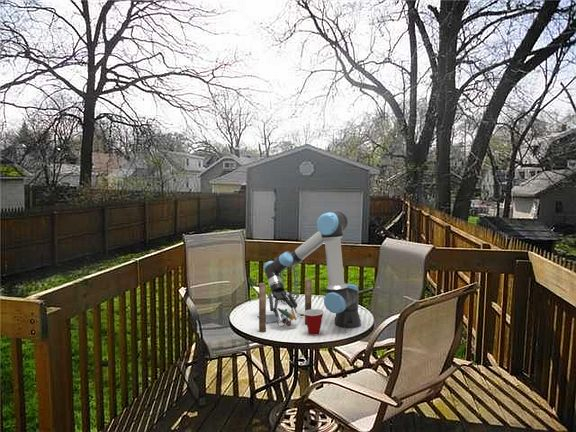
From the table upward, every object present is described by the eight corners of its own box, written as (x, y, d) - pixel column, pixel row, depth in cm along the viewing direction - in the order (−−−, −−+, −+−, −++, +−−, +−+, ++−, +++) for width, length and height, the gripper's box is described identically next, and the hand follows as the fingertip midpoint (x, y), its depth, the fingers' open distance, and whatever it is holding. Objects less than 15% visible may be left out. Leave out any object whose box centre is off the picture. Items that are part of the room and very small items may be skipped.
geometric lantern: (279, 306, 291) (278, 253, 289) (274, 300, 306) (273, 250, 304) (302, 304, 294) (302, 252, 293) (296, 299, 310) (295, 249, 308)
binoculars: (288, 331, 243) (297, 315, 245) (276, 324, 239) (285, 308, 241) (281, 326, 251) (289, 310, 253) (268, 320, 247) (277, 304, 249)
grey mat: (288, 320, 260) (288, 319, 260) (266, 323, 254) (266, 322, 254) (278, 314, 273) (278, 313, 273) (257, 317, 267) (257, 316, 267)
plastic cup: (302, 330, 243) (302, 308, 242) (322, 329, 244) (322, 308, 243) (304, 336, 232) (304, 314, 231) (325, 336, 233) (325, 314, 232)
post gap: (312, 324, 252) (312, 279, 250) (260, 332, 239) (260, 284, 237) (309, 323, 255) (309, 278, 254) (258, 330, 242) (258, 283, 240)
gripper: (291, 287, 264) (303, 321, 251) (257, 291, 255) (268, 326, 242) (295, 280, 259) (307, 314, 246) (260, 283, 250) (272, 319, 237)
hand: (288, 320), depth 244 cm, fingers closed on binoculars, 9 cm apart
